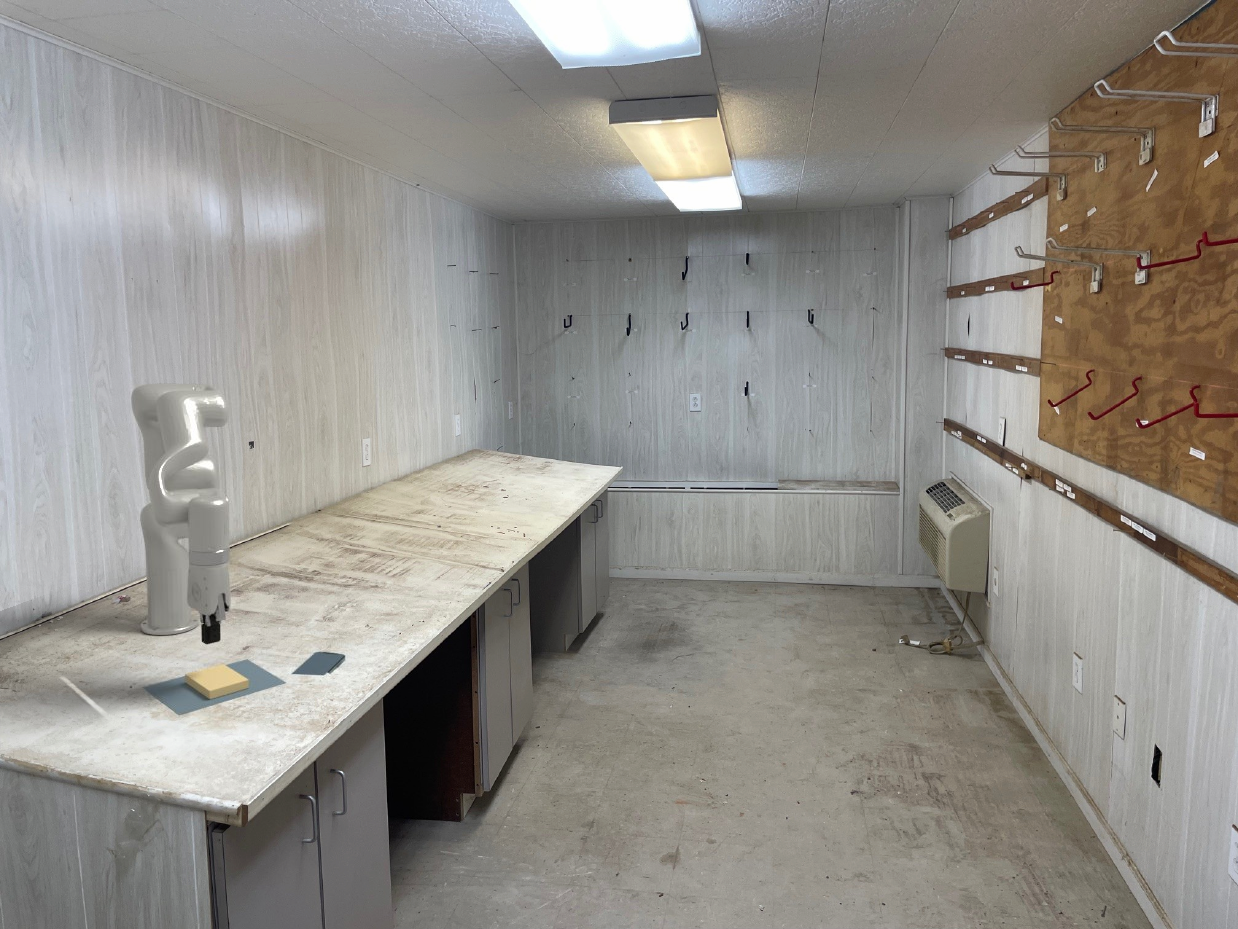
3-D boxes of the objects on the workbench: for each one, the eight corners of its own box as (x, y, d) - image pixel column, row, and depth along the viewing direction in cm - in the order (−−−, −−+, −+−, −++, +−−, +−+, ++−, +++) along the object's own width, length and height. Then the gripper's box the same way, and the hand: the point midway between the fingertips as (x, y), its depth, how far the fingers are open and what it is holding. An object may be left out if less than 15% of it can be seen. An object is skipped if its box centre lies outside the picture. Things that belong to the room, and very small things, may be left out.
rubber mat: (142, 691, 174) (142, 687, 174) (247, 662, 191) (247, 659, 190) (179, 719, 163) (179, 715, 163) (286, 686, 180) (286, 682, 180)
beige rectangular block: (185, 674, 176) (209, 691, 170) (223, 664, 183) (248, 679, 176) (185, 683, 177) (210, 700, 170) (223, 672, 183) (248, 688, 176)
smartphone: (284, 678, 182) (315, 650, 196) (284, 686, 182) (315, 657, 197) (317, 682, 181) (347, 653, 196) (318, 689, 181) (347, 660, 196)
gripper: (174, 551, 175) (176, 636, 178) (207, 568, 166) (209, 657, 169) (211, 546, 181) (212, 628, 184) (245, 561, 172) (246, 647, 175)
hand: (211, 641), depth 176 cm, fingers closed
